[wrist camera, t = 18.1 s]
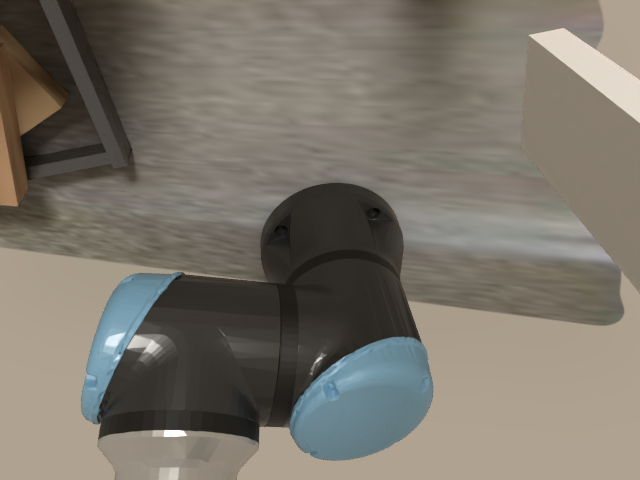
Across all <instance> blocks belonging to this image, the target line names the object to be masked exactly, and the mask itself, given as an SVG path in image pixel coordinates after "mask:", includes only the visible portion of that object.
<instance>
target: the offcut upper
mask: <svg viewBox="0 0 640 480" xmlns="http://www.w3.org/2000/svg"><path fill="white" fill-rule="evenodd" d="M28 188H29V186H28V180H27V174H26V168H25V162H24V156H23V150H22V144H21V138H20V132H19V126H18V119H17V113H16V107H15V101H14V95H13V89H12V83H11V77H10V71H9V65H8V59H7V52H6V46H5V43H0V205H6V206H18V205H19V204H20V202H21V200H22V198H23V197H24V195H25V193H26V192H27V190H28Z"/></svg>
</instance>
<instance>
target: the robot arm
mask: <svg viewBox="0 0 640 480" xmlns="http://www.w3.org/2000/svg"><path fill="white" fill-rule="evenodd" d="M521 149H522V150H523V151H524V153H525V154H526V155H527V156H528V158H529V159H530V160H531V161H532V162H533V164H534V165H535V166H536V167H537V168H538V170H539V171H540V172H541V173H542V175H543V176H544V177H545V178H546V179H547V181H548V182H549V183H550V184H551V186H552V187H553V188H554V189H555V190H556V192H557V193H558V194H559V195H560V196H561V198H562V199H563V200H564V201H565V203H566V204H567V205H568V206H569V207H570V209H571V210H572V211H573V212H574V214H575V215H576V216H577V217H578V218H579V220H580V221H581V222H582V223H583V225H584V226H585V227H586V228H587V229H588V231H589V232H590V233H591V234H592V235H593V237H594V238H595V239H596V240H597V242H598V243H599V244H600V245H601V246H602V248H603V249H604V250H605V251H606V253H607V254H608V255H609V256H610V257H611V259H612V260H613V261H614V262H615V263H616V265H617V266H618V267H619V268H620V270H621V271H622V272H623V273H624V274H625V276H626V277H627V278H628V279H629V280H630V282H631V283H632V284H633V285H634V287H635V288H636V289H637V290H638V291H639V293H640V80H639V79H637V78H636V77H634V76H633V75H632V74H630V73H629V72H627V71H626V70H624V69H623V68H621V67H620V66H618V65H617V64H616V63H614V62H612V61H611V60H610V59H608V58H607V57H605V56H604V55H602V54H601V53H599V52H598V51H597V50H595V49H594V48H592V47H591V46H589V45H588V44H586V43H585V42H583V41H582V40H580V39H579V38H578V37H576V36H575V35H573V34H572V33H570V32H569V31H567V30H566V29H564V28H562V29H557V30H552V31H547V32H542V33H537V34H532V35H529V37H528V51H527V64H526V78H525V92H524V106H523V120H522V134H521ZM403 247H404V246H403V235H402V231H401V228H400V226H399V223H398V220H397V218H396V215H395V213H394V211H393V210H392V208H391V207H390V206H389V204H388V203H387V202H386V201H385V200H384V199H382V198H381V197H380V196H379V195H377V194H376V193H374V192H372V191H370V190H368V189H366V188H363V187H360V186H356V185H352V184H344V183H329V184H321V185H317V186H313V187H309V188H307V189H304V190H302V191H299V192H297V193H295V194H293V195H292V196H290V197H289V198H287V199H286V200H284V201H283V202H282V203H281V204H280V205H279V206H278V207H277V208H276V209H275V210H274V211H273V212H272V214H271V215H270V216H269V218H268V220H267V221H266V223H265V226H264V228H263V231H262V235H261V260H262V265H263V269H264V272H265V274H266V277H267V278H268V280H269V282H270V283H269V282H257V281H247V280H237V279H226V278H216V277H204V276H194V275H185V274H184V273H183V272H177V273H173V274H152V273H151V274H150V273H138V274H133V275H131V276H129V277H127V278H125V279H124V280H123V281H121V282H120V284H119V285H118V286H117V287H116V288H115V290H114V291H113V293H112V295H111V296H110V298H109V300H108V302H107V304H106V307H105V309H104V311H103V314H102V316H101V319H100V321H99V324H98V327H97V330H96V333H95V336H94V340H93V343H92V347H91V350H90V354H89V358H88V363H87V368H86V372H87V375H86V378H85V382H84V385H83V390H82V396H81V411H82V414H83V416H84V417H85V419H86V420H89V421H91V422H92V423H93V424H100V423H101V426H100V432H99V438H98V445H97V447H98V448H99V449H100V451H101V452H102V453H103V454H104V456H105V457H106V458H107V459H108V461H109V462H110V463H111V465H112V466H113V469H114V471H115V480H237V474H238V472H239V470H240V468H241V467H242V466H243V465H244V464H245V463H246V462H247V461H248V460H249V459H250V458H251V457H252V456H253V455H254V454H255V453H256V452H257V451H258V447H259V427H261V426H262V427H267V426H268V427H289V429H290V433H291V436H292V438H293V439H294V440H295V443H296V444H297V446H298V447H299V448H300V449H301V450H302V451H304V452H305V453H309V452H310V454H311V455H312V456H313V457H315V458H318V459H323V460H332V461H333V460H334V461H336V460H350V459H355V458H360V457H364V456H368V455H371V454H374V453H377V452H379V451H381V450H384V449H385V448H388V447H390V446H391V445H393V444H394V443H396V442H398V441H400V440H402V439H403V438H404V437H406V436H407V435H408V434H409V433H411V431H413V430H414V429H415V428H416V427H417V426H418V425H419V424H420V422H421V421H422V420H423V418H424V417H425V415H426V414H427V412H428V410H429V408H430V405H431V402H432V398H433V382H432V377H431V373H430V369H429V364H428V357H427V351H426V349H425V347H424V346H423V344H422V342H421V339H420V336H419V333H418V330H417V328H416V325H415V322H414V319H413V316H412V313H411V310H410V307H409V305H408V302H407V299H406V296H405V293H404V290H403V287H402V285H401V282H400V272H401V264H402V256H403Z"/></svg>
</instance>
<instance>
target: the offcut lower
mask: <svg viewBox="0 0 640 480" xmlns="http://www.w3.org/2000/svg"><path fill="white" fill-rule="evenodd" d="M0 43H5V46H6V52H7V59H8V65H9V71H10V77H11V83H12V89H13V95H14V101H15V107H16V113H17V119H18V126H19V132H20V136H21V135H23V134H24V133H26V132H27V131H29V130H30V129H31V128H33V127H34V126H36V125H37V124H39V123H40V122H42V121H43V120H45V119H46V118H47V117H49V116H50V115H52V114H53V113H55V112H56V111H58V110H59V109H61V108H62V106H63V105H64V103H65V101H66V100H67V98H68V96H69V95H68V94H67V92H66V91H65V90H64V89H63V88H62V87H61V86H60V85H59V84H58V83H57V82H56V81H55V80H54V79H53V78H52V77H51V76H50V75H49V74H48V73H47V72H46V70H45V69H44V68H43V67H42V66H41V65H40V64H39V63H38V62H37V61H36V60H35V59H34V58H33V57H32V56H31V55H30V54H29V53H28V52H27V51H26V49H25V48H24V47H23V46H22V45H21V44H20V43H19V42H18V41H17V40H16V39H15V38H14V37H13V36H12V35H11V34H10V33H9V32H8V31H7V30H6V29H5V27H4V26H3V25H1V26H0Z"/></svg>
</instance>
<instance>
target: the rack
mask: <svg viewBox="0 0 640 480" xmlns="http://www.w3.org/2000/svg"><path fill="white" fill-rule="evenodd" d="M39 1H40V3H41V6H42V8H43V10H44V12H45V15H46V17H47V19H48V21H49V24H50V26H51V28H52V31H53V33H54V35H55V37H56V40H57V42H58V44H59V46H60V49H61V51H62V53H63V55H64V58H65V60H66V62H67V64H68V67H69V69H70V71H71V73H72V76H73V78H74V80H75V83H76V85H77V87H78V89H79V92H80V94H81V96H82V98H83V101H84V103H85V105H86V107H87V110H88V112H89V114H90V116H91V119H92V121H93V123H94V126H95V128H96V130H97V132H98V135H99V137H100V139H101V141H102V144H96V145H91V146H86V147H81V148H76V149H71V150H65V151H60V152H55V153H50V154H45V155H40V156H34V157H29V158H24V162H25V168H26V174H27V180H31V179H36V178H42V177H47V176H52V175H57V174H62V173H67V172H73V171H78V170H83V169H88V168H93V167H98V166H104V165H109V164H112V166H113V168H114V169H115V168H120V167H126V166H127V165H128V161H129V158H130V155H131V152H132V148H131V146H130V143H129V141H128V139H127V136H126V134H125V131H124V129H123V126H122V124H121V121H120V119H119V117H118V114H117V112H116V109H115V107H114V104H113V102H112V99H111V97H110V95H109V92H108V90H107V87H106V85H105V82H104V80H103V77H102V75H101V73H100V70H99V68H98V65H97V63H96V60H95V58H94V55H93V53H92V51H91V48H90V46H89V43H88V41H87V38H86V36H85V33H84V31H83V29H82V26H81V24H80V21H79V19H78V16H77V14H76V11H75V9H74V6H73V4H72V2H71V0H39Z"/></svg>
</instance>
